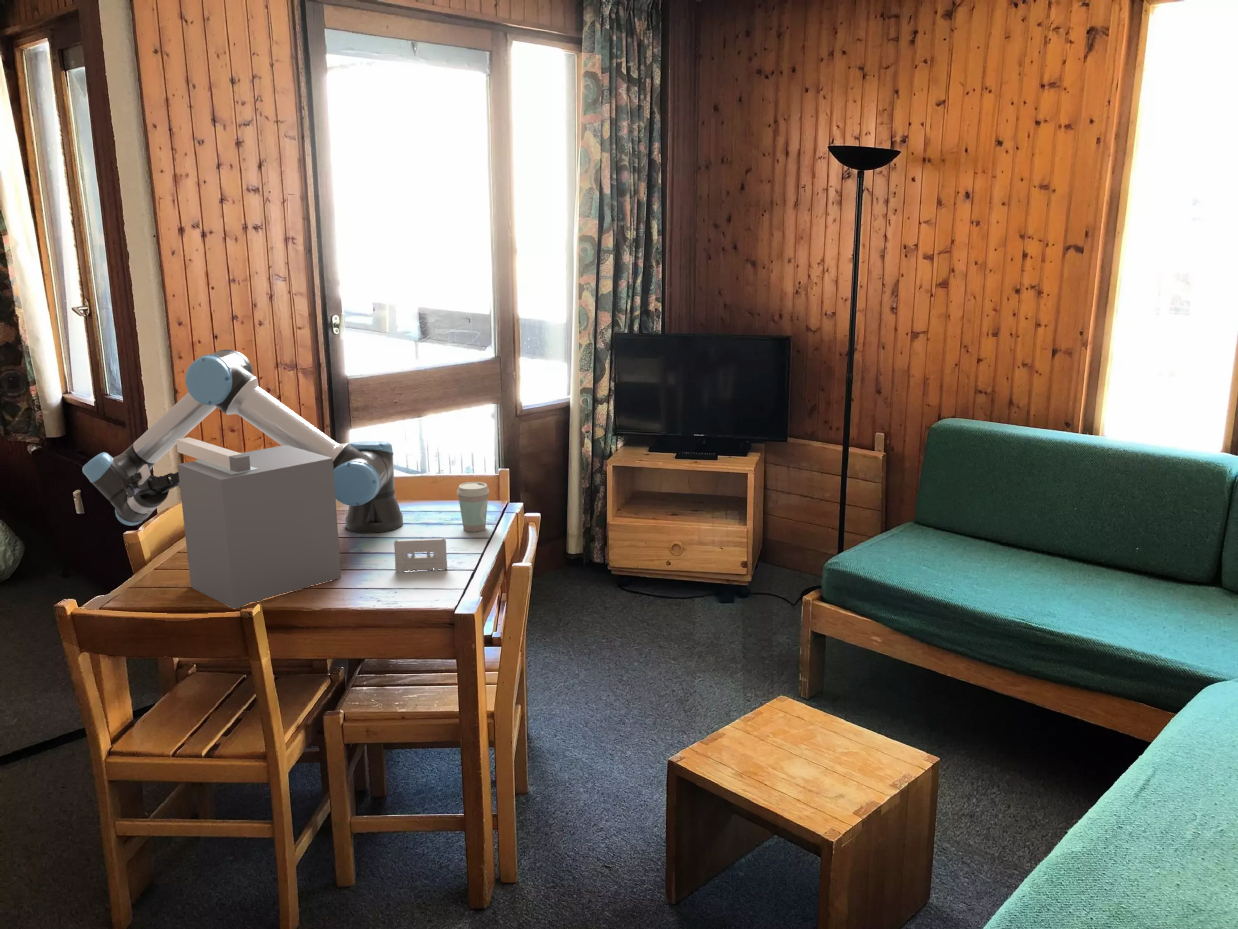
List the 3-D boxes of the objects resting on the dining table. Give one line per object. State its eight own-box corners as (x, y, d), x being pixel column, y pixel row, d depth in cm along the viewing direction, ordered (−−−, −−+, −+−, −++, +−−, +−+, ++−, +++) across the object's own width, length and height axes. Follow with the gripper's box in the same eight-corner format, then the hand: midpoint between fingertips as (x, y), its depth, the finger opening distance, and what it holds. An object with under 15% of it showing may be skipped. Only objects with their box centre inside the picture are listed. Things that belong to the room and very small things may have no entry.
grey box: (190, 587, 225) (177, 463, 218) (295, 559, 244) (286, 444, 237) (233, 609, 212) (221, 479, 205) (341, 578, 230) (332, 457, 224)
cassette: (395, 573, 234) (393, 542, 232) (395, 570, 236) (394, 539, 234) (447, 571, 236) (445, 540, 234) (447, 568, 237) (446, 537, 236)
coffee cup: (484, 534, 263) (483, 490, 260) (453, 532, 264) (451, 488, 262) (494, 525, 271) (493, 482, 268) (464, 523, 273) (463, 480, 270)
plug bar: (177, 452, 229) (176, 439, 228) (190, 449, 231) (189, 437, 230) (237, 472, 211) (235, 458, 210) (250, 469, 213) (249, 455, 212)
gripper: (201, 498, 257) (232, 469, 242) (100, 518, 239) (127, 489, 225) (192, 471, 258) (222, 441, 243) (90, 489, 240) (116, 458, 225)
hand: (176, 464), depth 234 cm, fingers open, 13 cm apart
